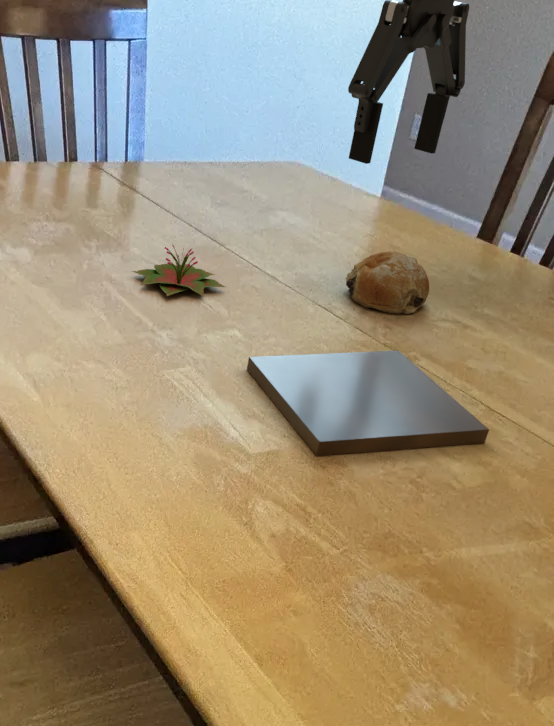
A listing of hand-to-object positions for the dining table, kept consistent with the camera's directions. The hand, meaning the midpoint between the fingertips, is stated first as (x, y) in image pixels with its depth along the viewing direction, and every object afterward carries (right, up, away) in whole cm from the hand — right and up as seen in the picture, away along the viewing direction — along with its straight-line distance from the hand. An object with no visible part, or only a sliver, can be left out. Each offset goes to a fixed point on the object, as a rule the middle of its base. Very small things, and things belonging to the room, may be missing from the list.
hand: (392, 156), depth 108 cm
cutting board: (-9, -34, -19) cm, 40 cm away
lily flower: (-27, -15, +4) cm, 31 cm away
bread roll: (0, -17, +6) cm, 18 cm away
